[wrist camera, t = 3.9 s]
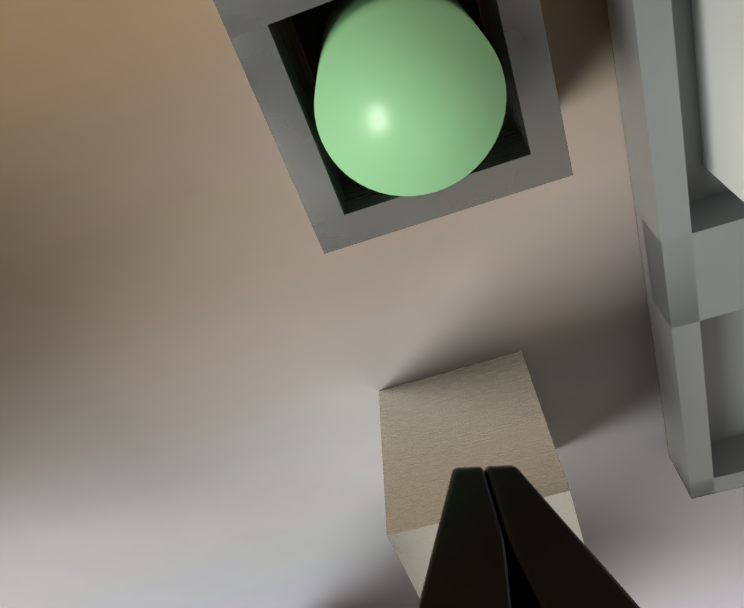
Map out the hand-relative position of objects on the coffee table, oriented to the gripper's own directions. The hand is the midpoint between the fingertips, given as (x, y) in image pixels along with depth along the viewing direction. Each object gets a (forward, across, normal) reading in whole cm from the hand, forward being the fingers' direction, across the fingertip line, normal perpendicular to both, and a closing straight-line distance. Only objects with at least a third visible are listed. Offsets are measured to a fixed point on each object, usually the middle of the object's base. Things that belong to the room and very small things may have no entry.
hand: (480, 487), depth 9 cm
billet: (+12, -2, +10) cm, 15 cm away
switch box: (+12, 0, -3) cm, 12 cm away
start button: (+11, 0, -3) cm, 11 cm away
